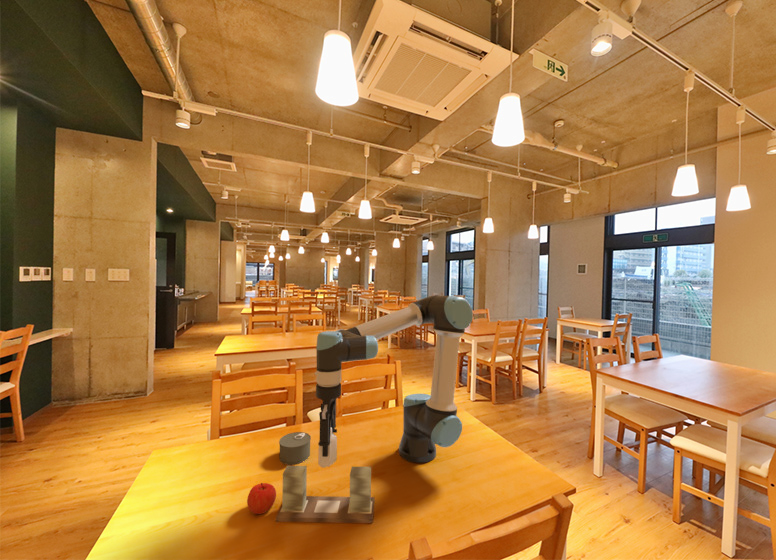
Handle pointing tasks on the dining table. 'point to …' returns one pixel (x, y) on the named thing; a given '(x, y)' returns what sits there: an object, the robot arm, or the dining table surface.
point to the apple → (261, 498)
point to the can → (294, 448)
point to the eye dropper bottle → (333, 449)
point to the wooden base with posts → (326, 499)
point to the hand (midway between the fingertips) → (327, 460)
